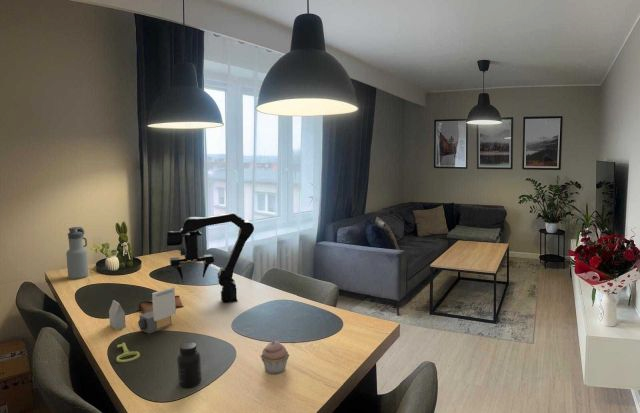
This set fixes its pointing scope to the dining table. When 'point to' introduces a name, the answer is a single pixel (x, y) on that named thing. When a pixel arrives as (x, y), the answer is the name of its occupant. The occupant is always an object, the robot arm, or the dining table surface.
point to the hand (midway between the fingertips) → (192, 278)
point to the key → (127, 354)
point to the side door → (163, 303)
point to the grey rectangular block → (152, 322)
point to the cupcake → (274, 357)
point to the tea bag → (117, 316)
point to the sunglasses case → (148, 305)
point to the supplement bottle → (189, 366)
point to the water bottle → (77, 254)
